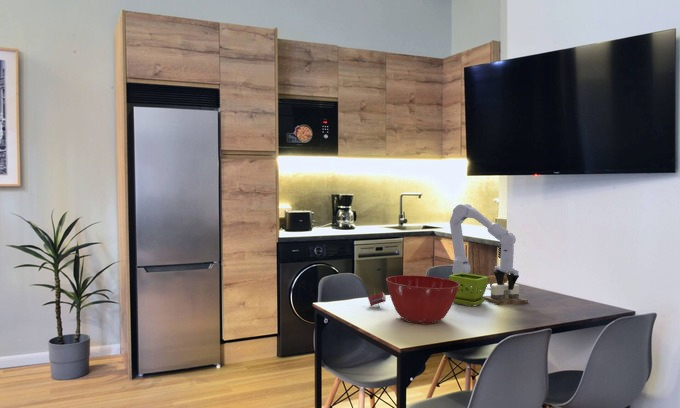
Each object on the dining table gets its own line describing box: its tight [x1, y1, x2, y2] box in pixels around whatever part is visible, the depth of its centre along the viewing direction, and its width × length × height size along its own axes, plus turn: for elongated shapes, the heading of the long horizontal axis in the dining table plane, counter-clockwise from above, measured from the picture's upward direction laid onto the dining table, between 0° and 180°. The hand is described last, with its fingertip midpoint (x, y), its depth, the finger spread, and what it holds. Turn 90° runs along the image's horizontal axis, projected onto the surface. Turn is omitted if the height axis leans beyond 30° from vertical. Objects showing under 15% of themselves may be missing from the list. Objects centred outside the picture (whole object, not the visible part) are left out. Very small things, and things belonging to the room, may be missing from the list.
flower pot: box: [448, 273, 489, 307], centre depth 250 cm, size 14×14×13 cm
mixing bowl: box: [385, 274, 460, 325], centre depth 216 cm, size 28×28×16 cm
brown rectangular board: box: [482, 289, 529, 306], centre depth 258 cm, size 17×12×5 cm
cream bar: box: [490, 283, 520, 295], centre depth 258 cm, size 14×3×4 cm, turn 113°
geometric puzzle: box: [367, 291, 387, 308], centre depth 236 cm, size 7×7×8 cm
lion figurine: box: [487, 273, 509, 288], centre depth 291 cm, size 15×5×9 cm, turn 105°
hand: (505, 288), depth 258 cm, fingers open, 7 cm apart
